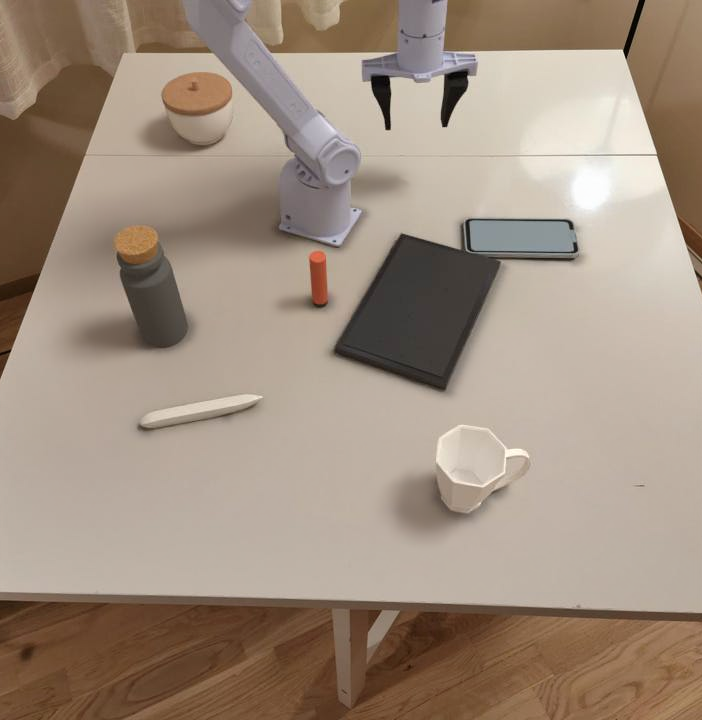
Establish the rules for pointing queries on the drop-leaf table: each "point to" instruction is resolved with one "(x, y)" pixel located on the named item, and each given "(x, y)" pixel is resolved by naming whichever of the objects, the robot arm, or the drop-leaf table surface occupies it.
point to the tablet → (419, 311)
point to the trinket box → (199, 106)
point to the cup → (473, 466)
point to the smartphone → (521, 237)
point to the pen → (198, 411)
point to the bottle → (150, 286)
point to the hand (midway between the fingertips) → (415, 124)
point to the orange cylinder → (318, 278)
